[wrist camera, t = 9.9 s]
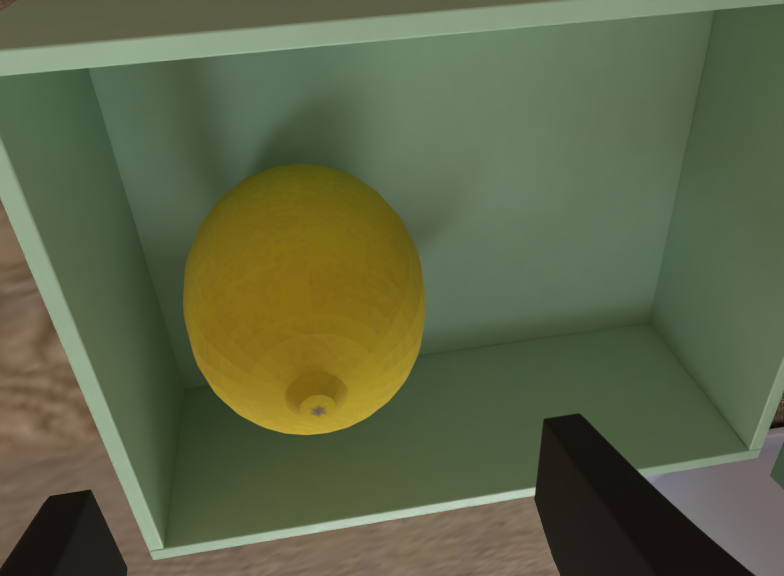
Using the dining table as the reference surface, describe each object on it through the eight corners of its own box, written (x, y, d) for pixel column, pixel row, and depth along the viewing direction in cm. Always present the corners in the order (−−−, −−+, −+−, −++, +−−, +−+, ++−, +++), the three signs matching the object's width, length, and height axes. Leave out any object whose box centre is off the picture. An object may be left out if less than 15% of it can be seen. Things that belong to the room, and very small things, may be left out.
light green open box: (739, -78, 17) (950, -35, 12) (651, 322, 24) (758, 458, 19) (47, -24, 15) (-62, 55, 10) (177, 391, 23) (152, 561, 17)
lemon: (171, 259, 19) (126, 480, 13) (237, 83, 17) (224, 244, 10) (346, 312, 21) (384, 526, 15) (428, 162, 19) (517, 339, 12)
